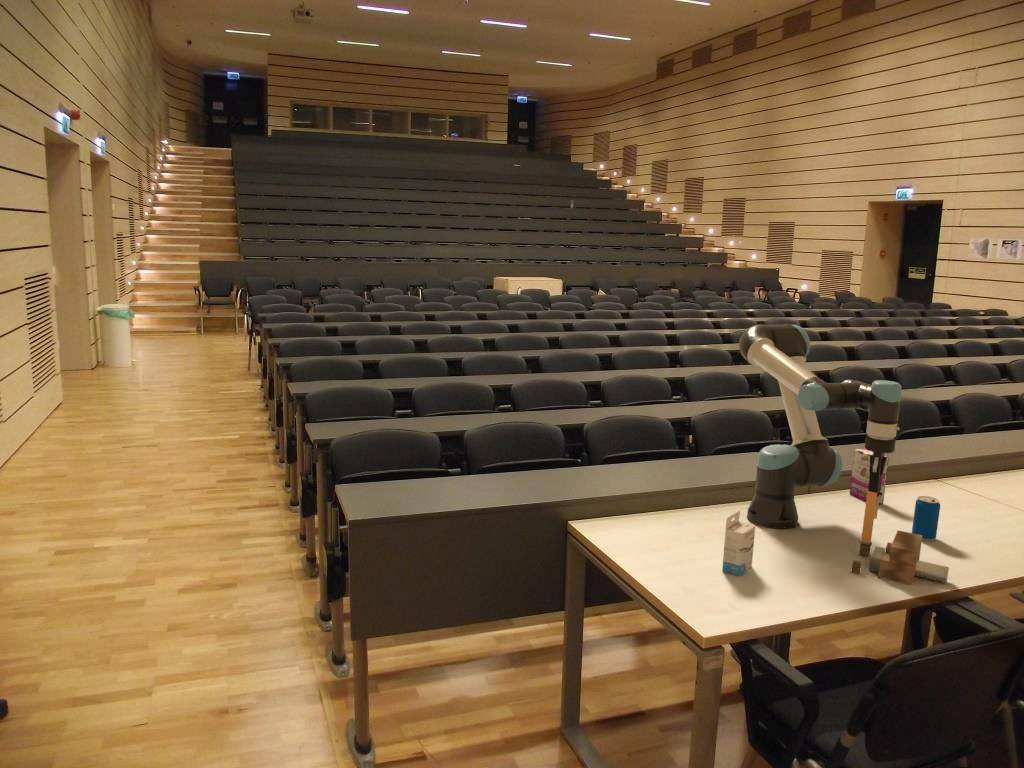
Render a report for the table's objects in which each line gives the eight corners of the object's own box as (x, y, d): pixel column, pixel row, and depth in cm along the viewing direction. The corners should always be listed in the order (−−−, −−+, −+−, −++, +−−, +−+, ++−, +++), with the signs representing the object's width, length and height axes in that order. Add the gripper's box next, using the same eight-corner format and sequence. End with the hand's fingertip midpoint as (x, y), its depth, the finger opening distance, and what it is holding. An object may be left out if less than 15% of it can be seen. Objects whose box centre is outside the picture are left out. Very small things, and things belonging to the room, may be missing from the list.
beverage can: (938, 542, 228) (944, 503, 225) (915, 540, 229) (920, 501, 227) (931, 534, 234) (936, 496, 232) (908, 532, 235) (913, 494, 233)
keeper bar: (866, 491, 215) (866, 490, 216) (859, 543, 217) (860, 542, 218) (878, 493, 214) (878, 492, 214) (871, 546, 215) (871, 545, 216)
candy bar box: (884, 504, 261) (890, 456, 258) (872, 505, 259) (877, 457, 256) (860, 493, 271) (865, 448, 268) (848, 494, 270) (853, 448, 267)
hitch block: (850, 571, 206) (854, 539, 204) (860, 552, 219) (864, 522, 217) (912, 586, 198) (916, 553, 196) (918, 565, 211) (922, 533, 210)
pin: (868, 570, 206) (870, 556, 206) (873, 559, 214) (875, 545, 213) (945, 588, 197) (947, 573, 196) (947, 576, 204) (949, 561, 204)
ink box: (739, 576, 201) (744, 522, 198) (721, 571, 204) (725, 518, 201) (752, 566, 207) (757, 514, 205) (734, 561, 210) (739, 509, 208)
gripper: (892, 443, 208) (882, 526, 213) (898, 434, 219) (888, 513, 223) (862, 439, 212) (853, 521, 216) (869, 430, 223) (860, 508, 227)
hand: (871, 517), depth 220 cm, fingers closed
